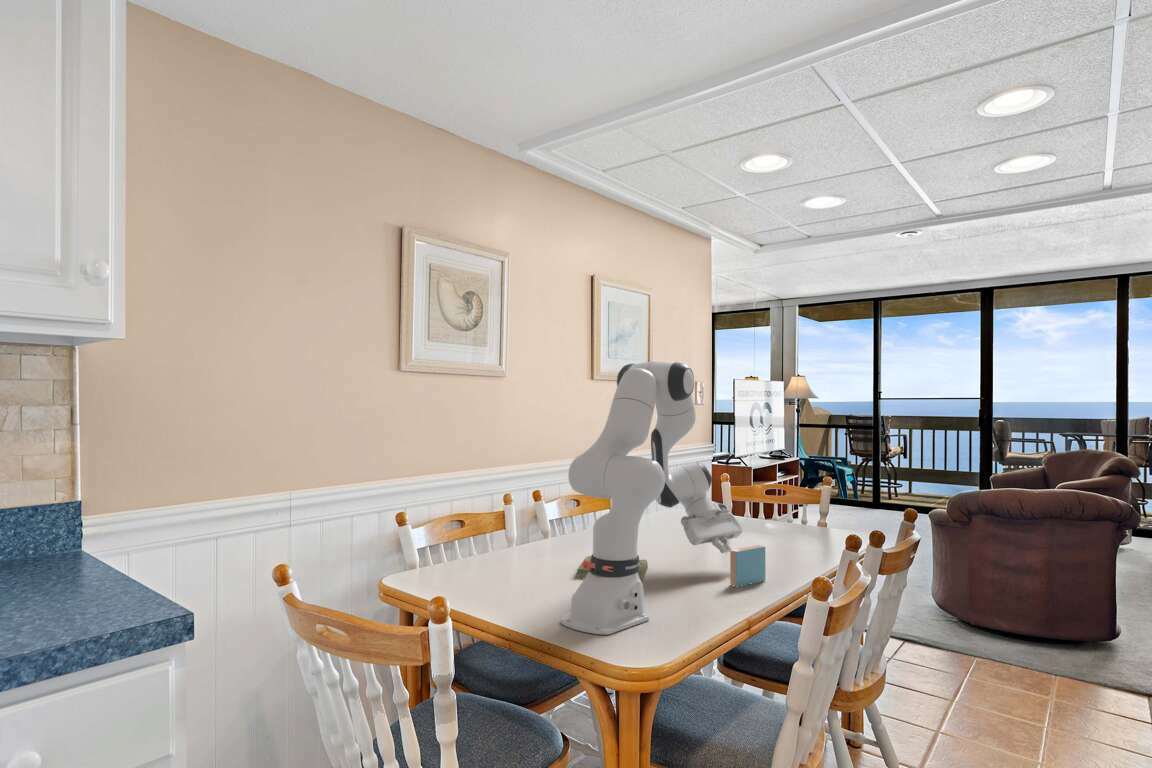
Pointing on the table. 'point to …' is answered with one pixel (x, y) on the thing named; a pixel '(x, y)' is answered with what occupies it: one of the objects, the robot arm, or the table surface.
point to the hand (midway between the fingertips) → (726, 551)
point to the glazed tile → (747, 565)
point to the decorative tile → (642, 571)
